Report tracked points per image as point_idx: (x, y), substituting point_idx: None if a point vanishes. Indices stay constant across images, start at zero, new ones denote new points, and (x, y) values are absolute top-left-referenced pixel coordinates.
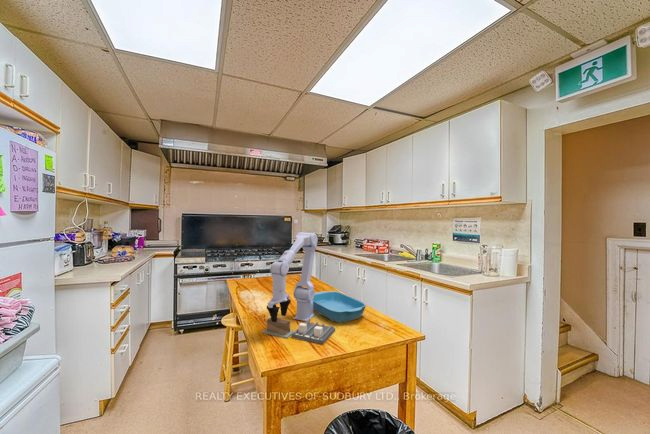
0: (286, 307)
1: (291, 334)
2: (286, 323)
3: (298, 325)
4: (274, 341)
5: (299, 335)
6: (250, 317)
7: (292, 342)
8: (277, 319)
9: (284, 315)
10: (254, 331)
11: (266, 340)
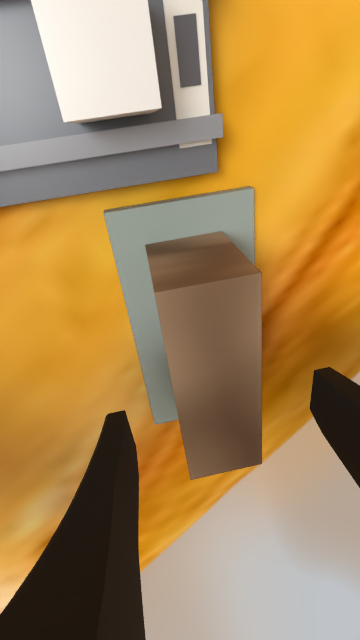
0: (114, 518)
1: (215, 170)
2: (254, 273)
3: (161, 107)
4: (333, 245)
5: (205, 42)
6: None
7: (295, 76)
8: (210, 414)
9: (126, 420)
10: None
11: (337, 303)
